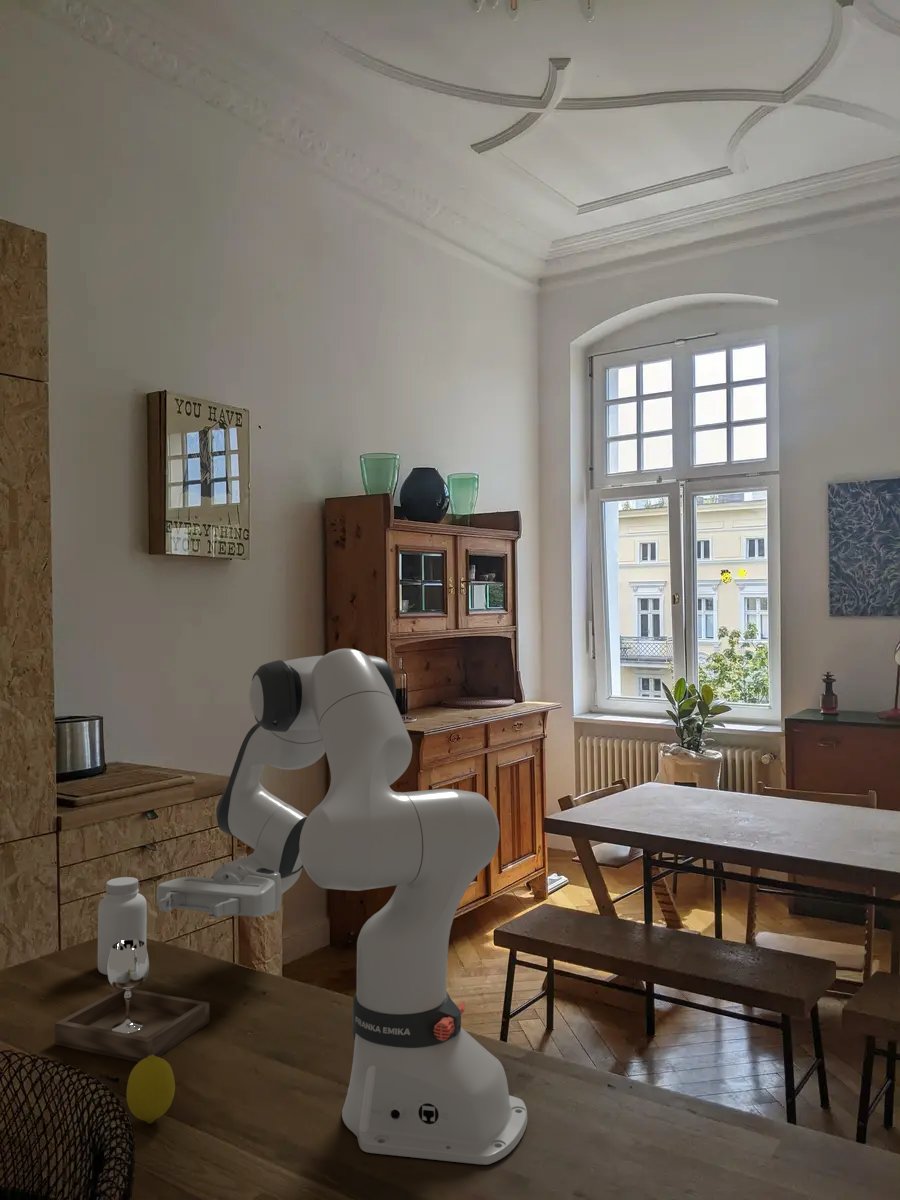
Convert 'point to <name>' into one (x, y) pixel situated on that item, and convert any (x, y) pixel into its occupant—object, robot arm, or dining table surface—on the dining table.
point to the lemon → (150, 1088)
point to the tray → (157, 1012)
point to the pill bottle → (120, 917)
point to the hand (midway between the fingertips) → (187, 909)
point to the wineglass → (128, 975)
